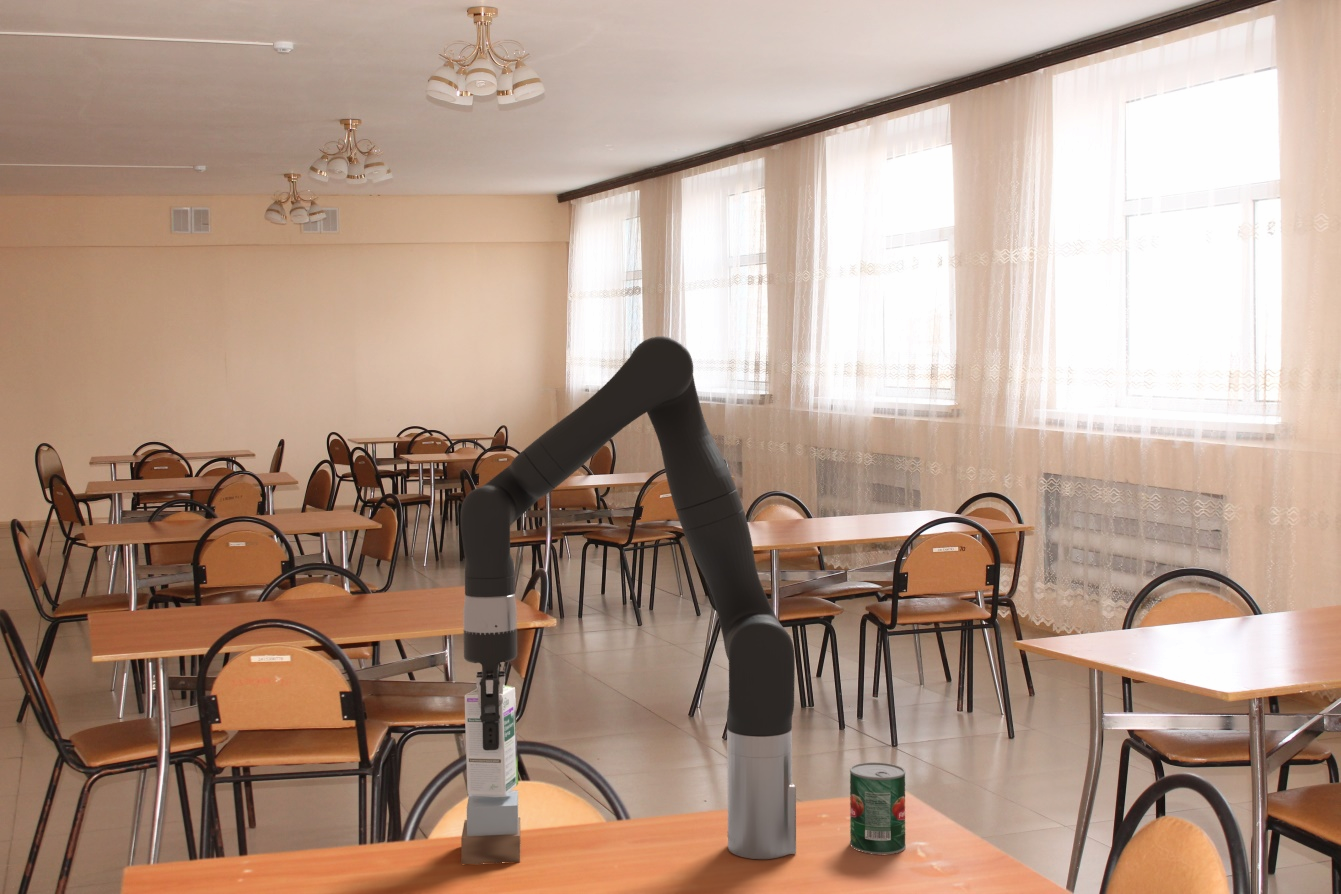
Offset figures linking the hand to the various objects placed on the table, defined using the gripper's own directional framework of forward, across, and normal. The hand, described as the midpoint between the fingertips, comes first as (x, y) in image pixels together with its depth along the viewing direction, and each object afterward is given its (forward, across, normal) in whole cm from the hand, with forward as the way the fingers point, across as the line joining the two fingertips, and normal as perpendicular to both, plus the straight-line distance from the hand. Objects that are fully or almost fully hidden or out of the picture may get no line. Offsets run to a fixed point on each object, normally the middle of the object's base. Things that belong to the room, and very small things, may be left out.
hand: (491, 742), depth 169 cm
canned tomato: (+16, -5, -55) cm, 57 cm away
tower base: (+16, 0, 0) cm, 16 cm away
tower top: (+12, 0, 0) cm, 12 cm away
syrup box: (+7, 0, 0) cm, 7 cm away
